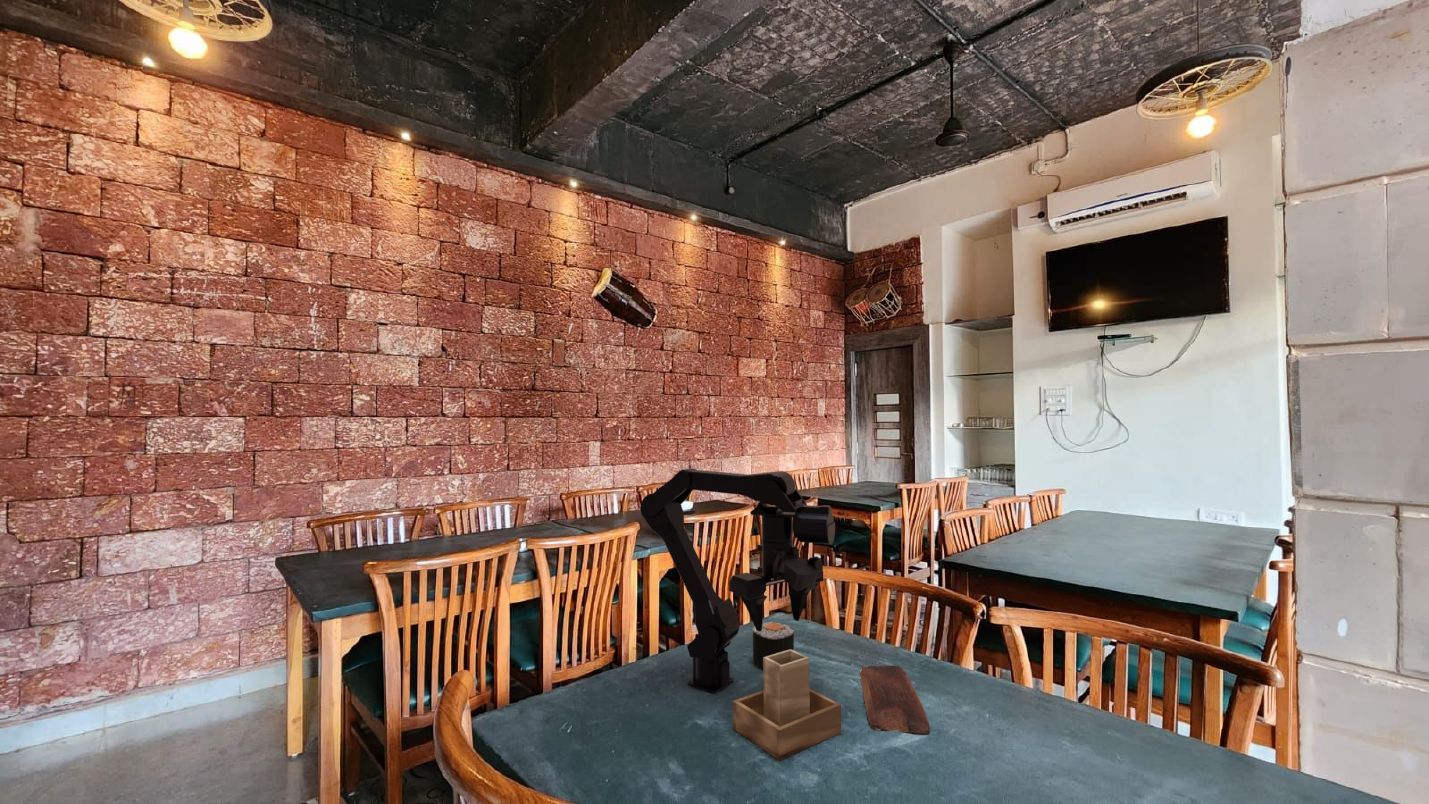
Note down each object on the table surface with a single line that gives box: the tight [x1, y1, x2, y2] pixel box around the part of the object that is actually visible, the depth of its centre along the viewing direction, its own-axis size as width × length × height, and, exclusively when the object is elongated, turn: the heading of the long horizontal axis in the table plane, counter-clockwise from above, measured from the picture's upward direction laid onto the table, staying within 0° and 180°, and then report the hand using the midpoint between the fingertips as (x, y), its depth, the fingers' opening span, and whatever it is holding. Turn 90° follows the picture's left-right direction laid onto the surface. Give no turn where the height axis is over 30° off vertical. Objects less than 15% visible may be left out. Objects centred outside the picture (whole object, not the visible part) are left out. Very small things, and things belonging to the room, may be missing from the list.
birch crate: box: [762, 649, 810, 727], centre depth 96 cm, size 4×6×11 cm
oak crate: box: [732, 687, 842, 762], centre depth 96 cm, size 11×13×4 cm
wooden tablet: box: [859, 665, 931, 736], centre depth 108 cm, size 26×2×10 cm
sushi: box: [752, 621, 795, 671], centre depth 123 cm, size 8×8×8 cm
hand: (778, 625), depth 108 cm, fingers open, 9 cm apart
